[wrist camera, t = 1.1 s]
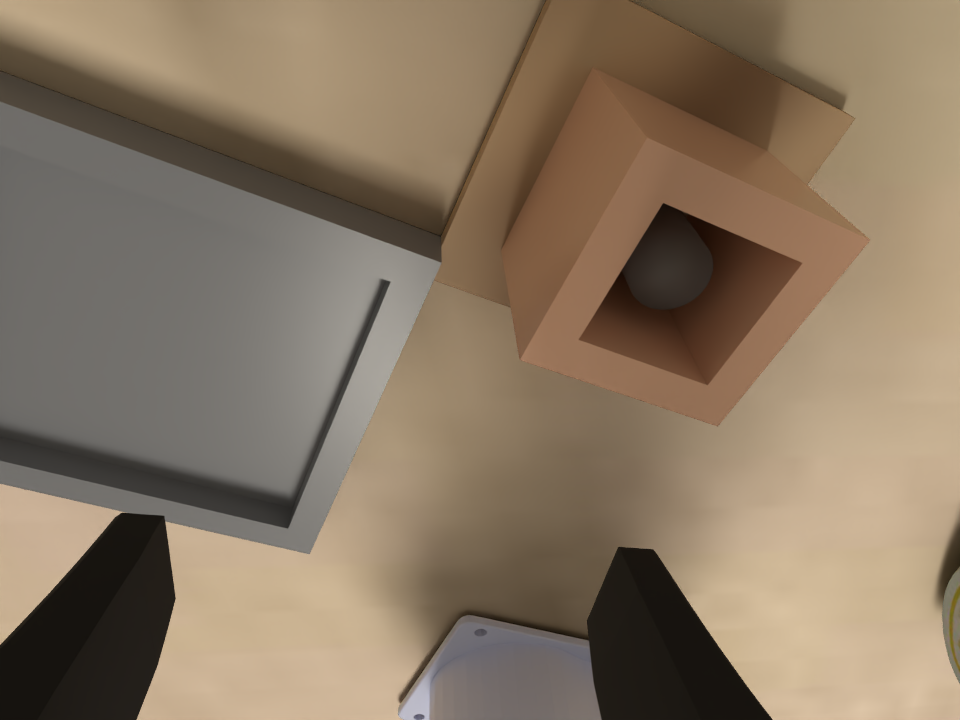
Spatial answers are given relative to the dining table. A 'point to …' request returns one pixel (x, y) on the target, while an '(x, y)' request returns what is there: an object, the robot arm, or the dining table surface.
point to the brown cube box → (620, 226)
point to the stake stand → (648, 67)
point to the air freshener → (952, 621)
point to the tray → (187, 323)
